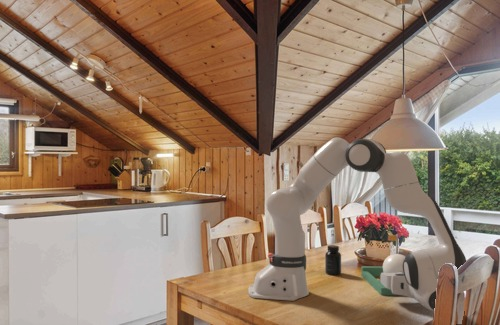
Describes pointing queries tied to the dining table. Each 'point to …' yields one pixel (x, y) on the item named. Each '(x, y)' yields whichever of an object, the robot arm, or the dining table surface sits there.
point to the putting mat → (378, 273)
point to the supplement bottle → (333, 260)
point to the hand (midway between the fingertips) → (402, 273)
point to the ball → (393, 263)
